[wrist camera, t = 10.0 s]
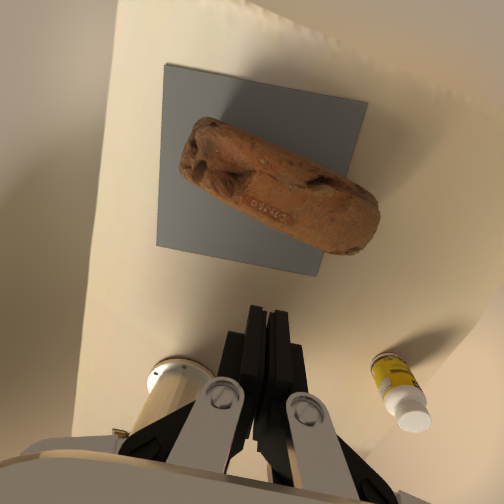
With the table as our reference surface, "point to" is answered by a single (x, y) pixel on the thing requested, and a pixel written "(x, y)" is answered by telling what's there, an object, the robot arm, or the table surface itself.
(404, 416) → the supplement bottle
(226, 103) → the mat
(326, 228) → the block
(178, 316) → the table surface
